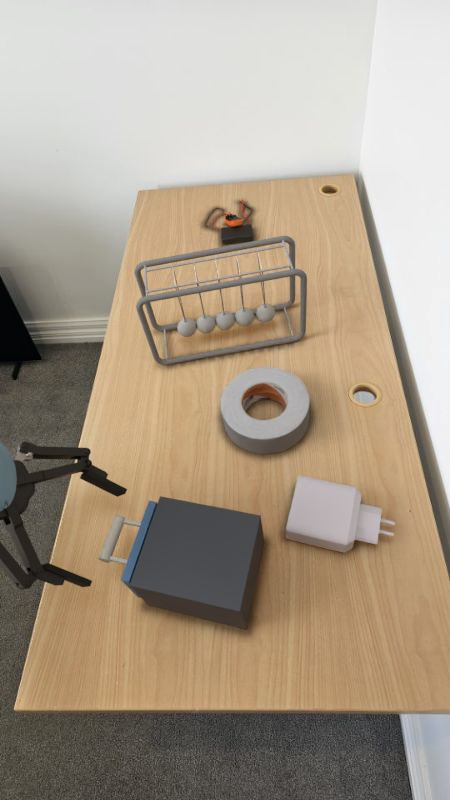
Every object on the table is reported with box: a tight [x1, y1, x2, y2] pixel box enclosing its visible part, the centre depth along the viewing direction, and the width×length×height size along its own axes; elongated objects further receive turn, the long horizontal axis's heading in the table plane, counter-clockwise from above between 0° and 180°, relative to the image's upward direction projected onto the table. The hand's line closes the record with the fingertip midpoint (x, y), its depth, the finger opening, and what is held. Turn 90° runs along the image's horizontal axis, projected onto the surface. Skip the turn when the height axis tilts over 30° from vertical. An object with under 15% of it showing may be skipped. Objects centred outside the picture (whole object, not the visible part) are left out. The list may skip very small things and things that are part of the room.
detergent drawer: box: [98, 500, 158, 599], centre depth 71 cm, size 18×11×9 cm, turn 76°
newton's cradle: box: [134, 235, 308, 366], centre depth 94 cm, size 30×10×18 cm, turn 98°
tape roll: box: [219, 366, 311, 455], centre depth 87 cm, size 15×15×5 cm
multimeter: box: [204, 197, 254, 245], centre depth 122 cm, size 18×12×3 cm, turn 178°
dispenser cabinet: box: [130, 496, 266, 631], centre depth 70 cm, size 15×13×11 cm
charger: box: [285, 474, 396, 554], centre depth 74 cm, size 5×9×15 cm
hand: (106, 536), depth 71 cm, fingers open, 13 cm apart
